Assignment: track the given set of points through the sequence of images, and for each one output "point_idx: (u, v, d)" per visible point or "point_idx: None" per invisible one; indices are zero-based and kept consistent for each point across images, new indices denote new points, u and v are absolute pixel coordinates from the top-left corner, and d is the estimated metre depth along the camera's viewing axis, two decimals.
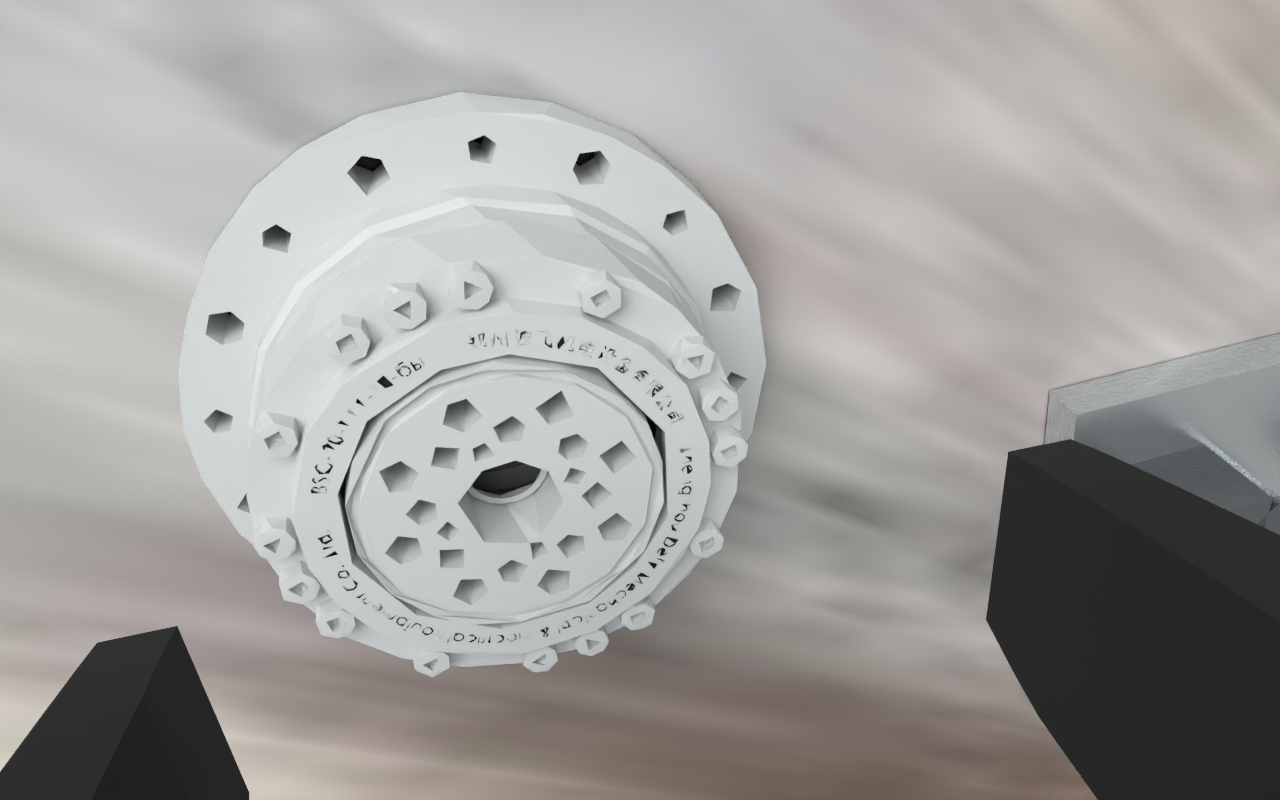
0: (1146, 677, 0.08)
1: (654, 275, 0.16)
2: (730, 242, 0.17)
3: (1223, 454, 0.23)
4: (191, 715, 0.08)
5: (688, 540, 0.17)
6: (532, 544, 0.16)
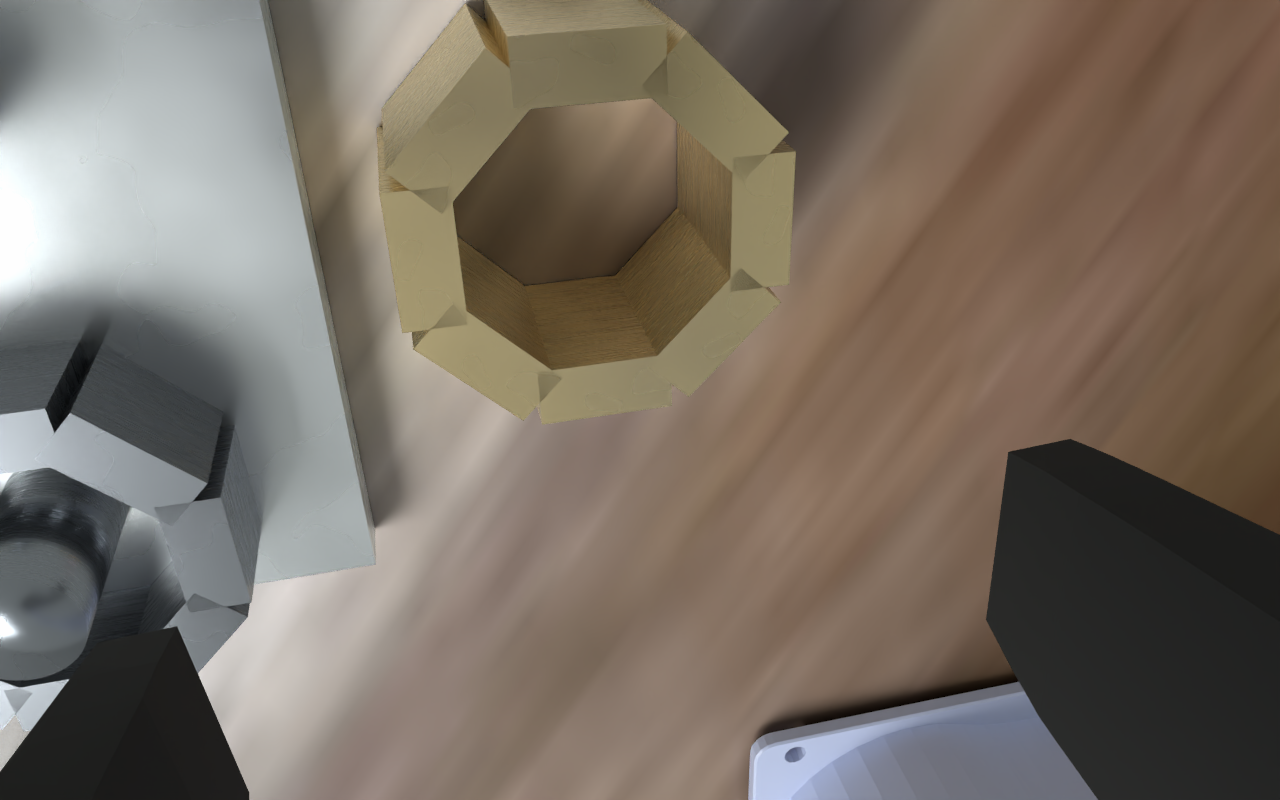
0: (1146, 677, 0.08)
1: None
2: None
3: None
4: (192, 714, 0.08)
5: None
6: None
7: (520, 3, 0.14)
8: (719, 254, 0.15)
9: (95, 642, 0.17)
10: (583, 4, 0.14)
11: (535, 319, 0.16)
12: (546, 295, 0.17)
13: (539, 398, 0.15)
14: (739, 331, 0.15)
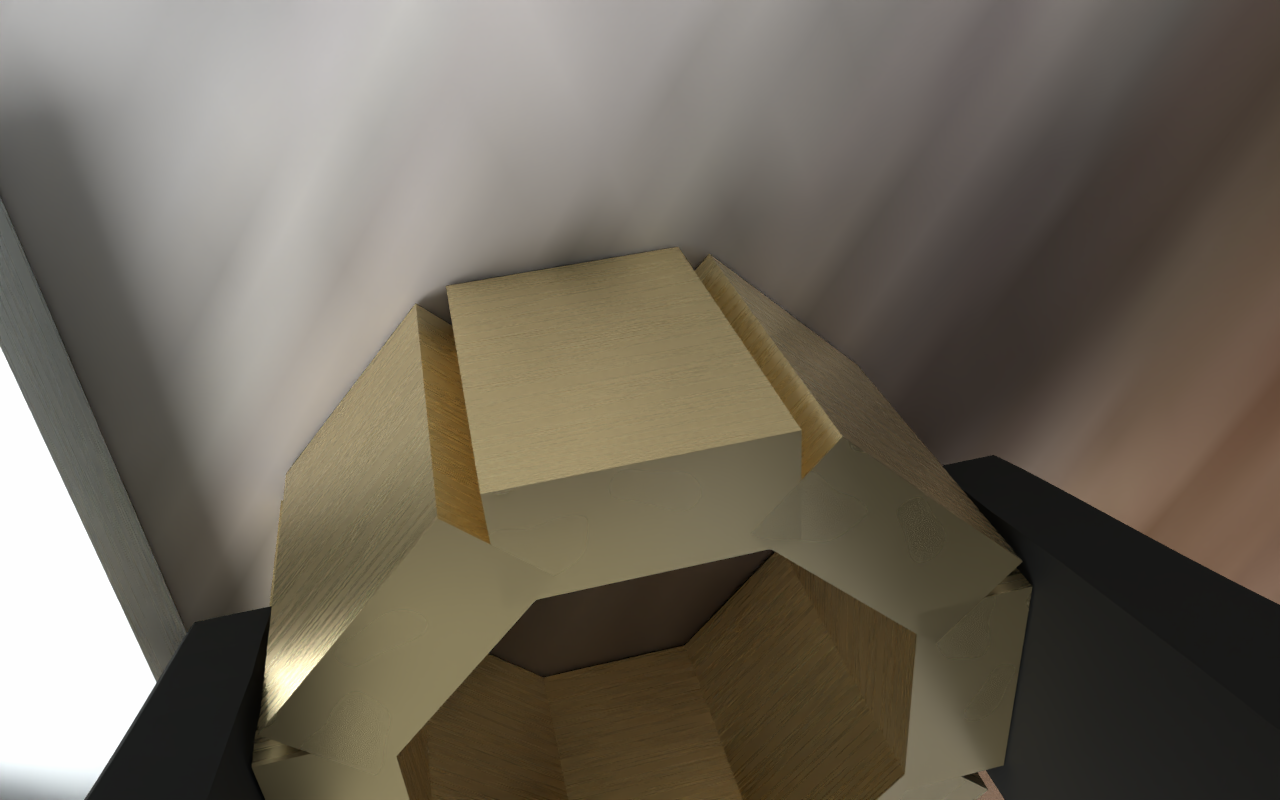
0: (1057, 699, 0.08)
1: None
2: None
3: None
4: None
5: None
6: None
7: (510, 327, 0.08)
8: (877, 710, 0.09)
9: None
10: (625, 332, 0.08)
11: (562, 776, 0.10)
12: (578, 704, 0.11)
13: None
14: None
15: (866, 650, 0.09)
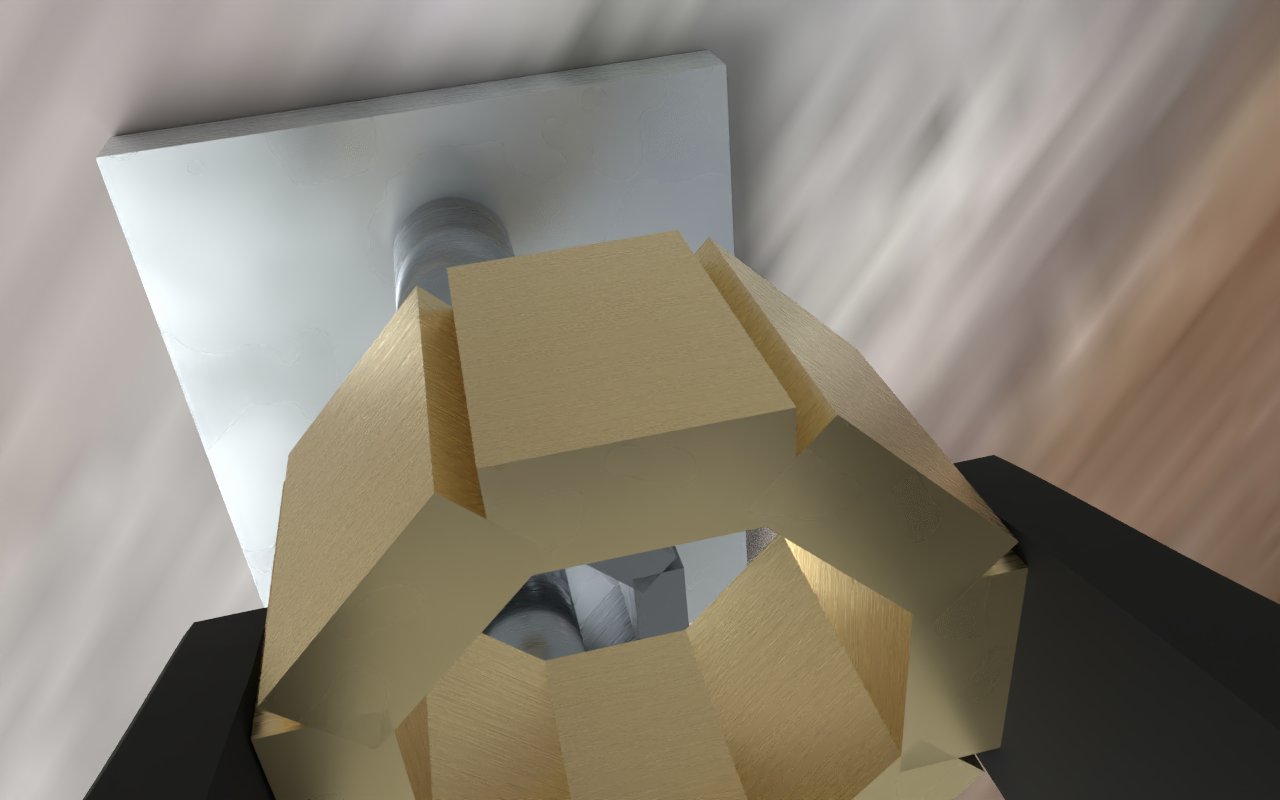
0: (1058, 699, 0.08)
1: None
2: None
3: None
4: None
5: None
6: None
7: (509, 307, 0.08)
8: (874, 692, 0.09)
9: None
10: (623, 312, 0.08)
11: (562, 757, 0.10)
12: (578, 686, 0.11)
13: None
14: None
15: (864, 632, 0.09)
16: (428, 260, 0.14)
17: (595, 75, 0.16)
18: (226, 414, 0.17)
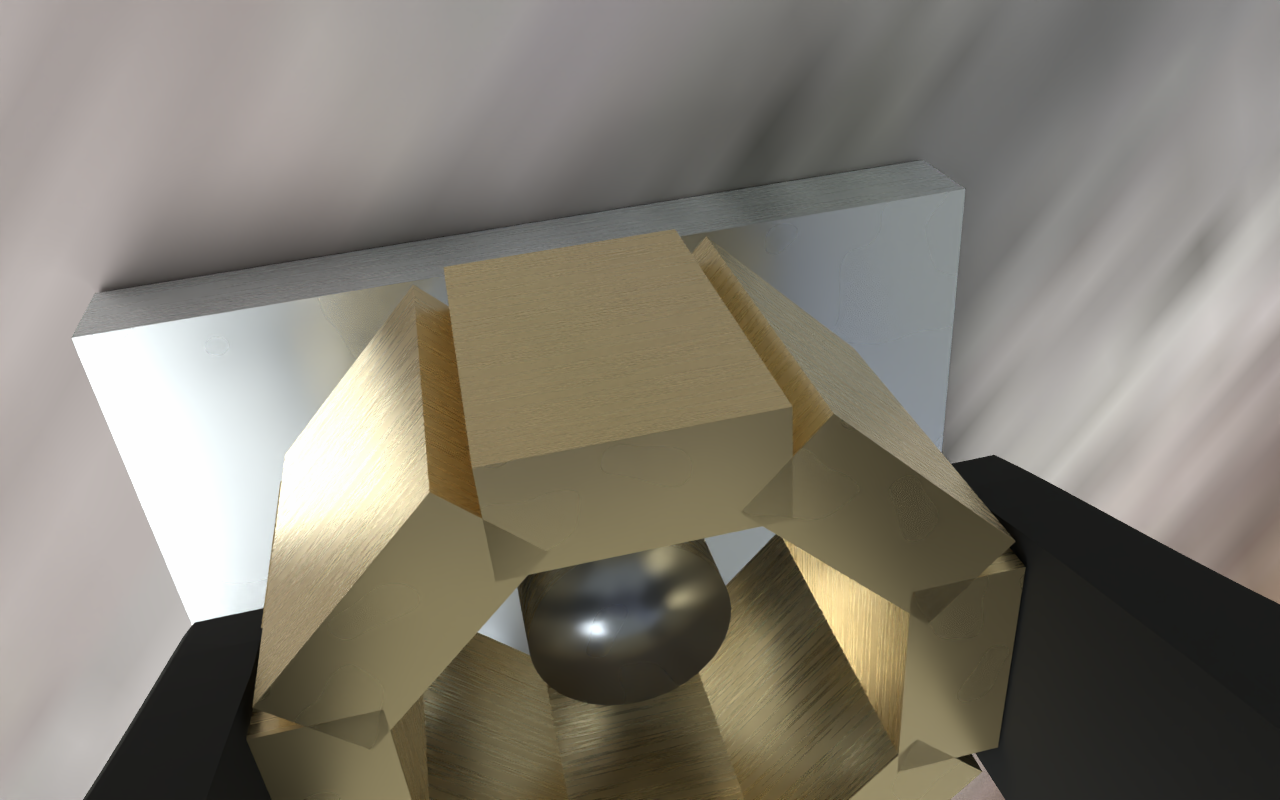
0: (1058, 699, 0.08)
1: None
2: None
3: None
4: None
5: None
6: None
7: (505, 306, 0.08)
8: (871, 692, 0.09)
9: None
10: (620, 311, 0.08)
11: (559, 757, 0.10)
12: None
13: None
14: None
15: (861, 632, 0.09)
16: None
17: (779, 202, 0.11)
18: None
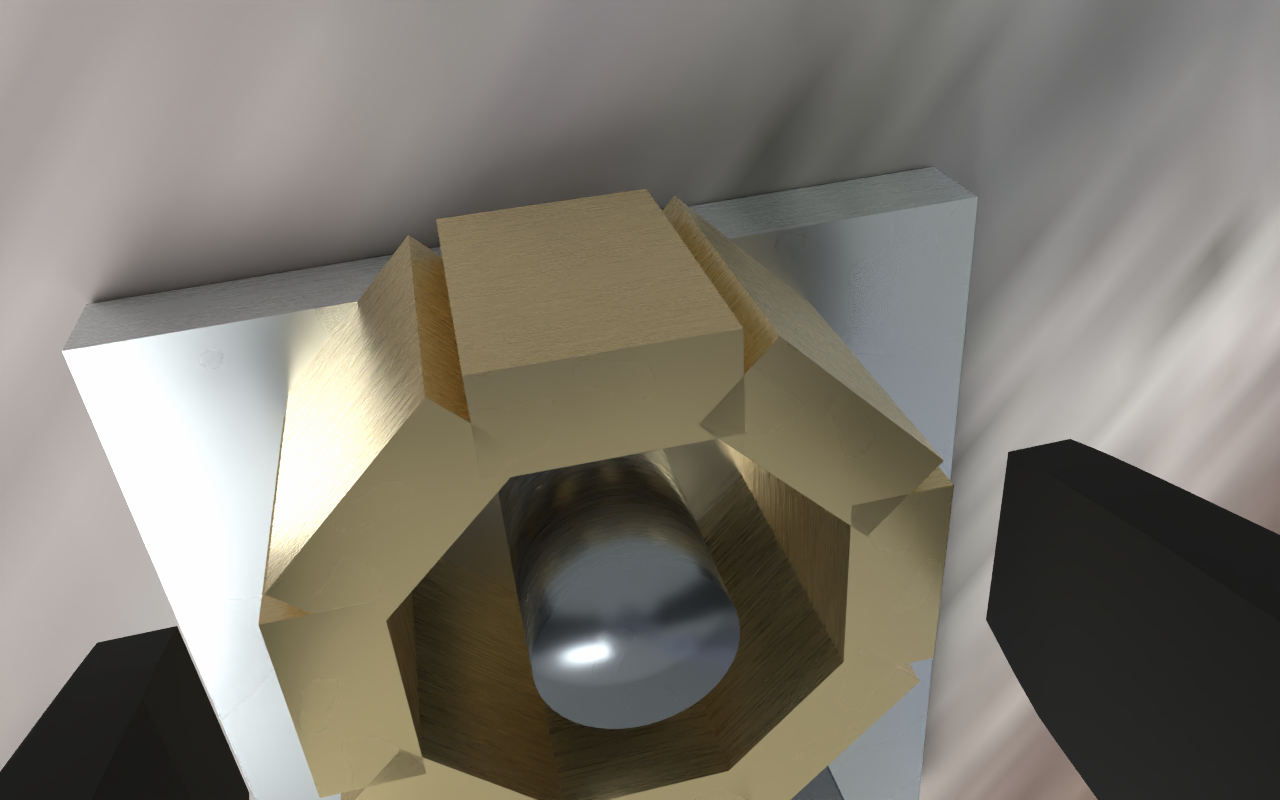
0: (1146, 677, 0.08)
1: None
2: None
3: None
4: (192, 714, 0.08)
5: None
6: None
7: (492, 251, 0.09)
8: (820, 609, 0.10)
9: None
10: (595, 255, 0.09)
11: None
12: None
13: None
14: (854, 724, 0.10)
15: (812, 554, 0.10)
16: (571, 521, 0.09)
17: (788, 210, 0.11)
18: (249, 673, 0.12)
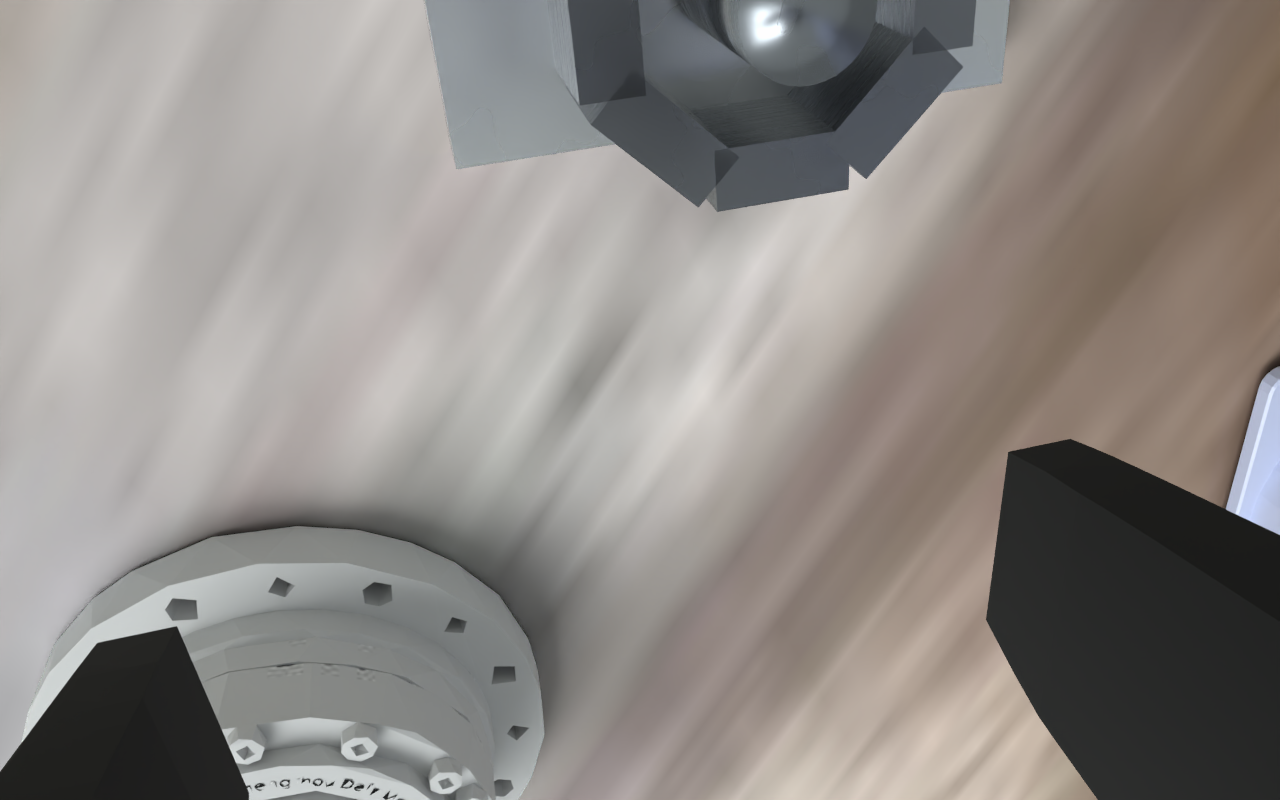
0: (1146, 677, 0.08)
1: None
2: (120, 613, 0.18)
3: None
4: (191, 715, 0.08)
5: (347, 771, 0.17)
6: None
7: None
8: None
9: (774, 123, 0.15)
10: None
11: None
12: None
13: None
14: None
15: None
16: None
17: None
18: None
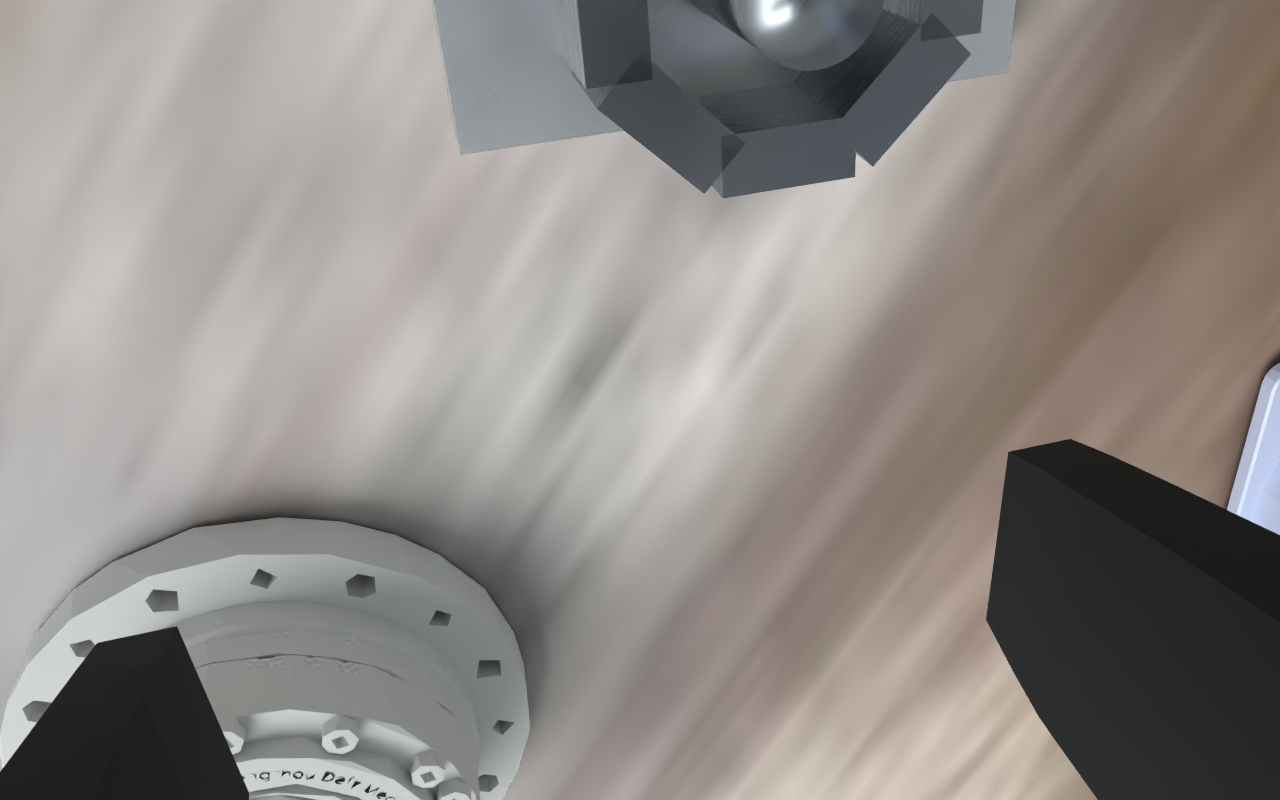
0: (1146, 677, 0.08)
1: None
2: (100, 604, 0.18)
3: None
4: (192, 714, 0.08)
5: (328, 763, 0.17)
6: None
7: None
8: None
9: (781, 110, 0.15)
10: None
11: None
12: None
13: None
14: None
15: None
16: None
17: None
18: None
